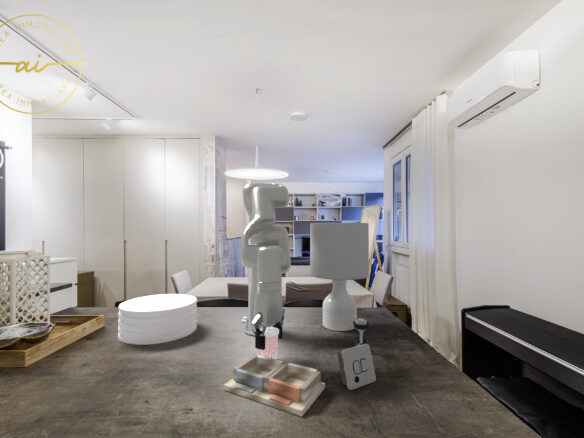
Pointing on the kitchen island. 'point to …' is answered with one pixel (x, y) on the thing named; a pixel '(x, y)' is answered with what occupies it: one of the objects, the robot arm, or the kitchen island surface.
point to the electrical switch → (356, 366)
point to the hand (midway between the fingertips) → (269, 343)
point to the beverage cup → (270, 342)
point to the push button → (361, 329)
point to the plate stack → (157, 318)
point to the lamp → (339, 267)
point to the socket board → (276, 383)
